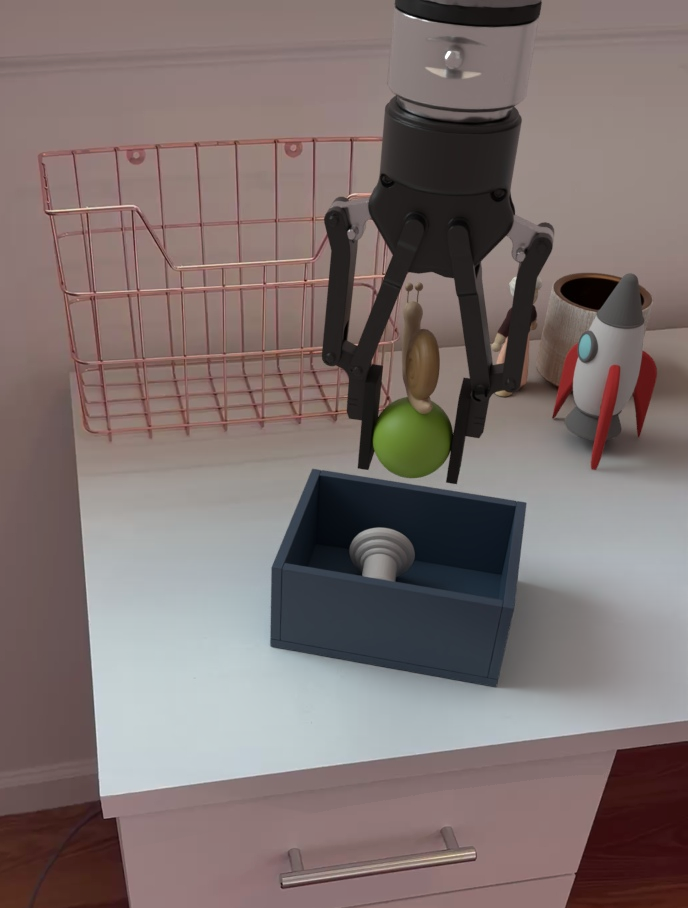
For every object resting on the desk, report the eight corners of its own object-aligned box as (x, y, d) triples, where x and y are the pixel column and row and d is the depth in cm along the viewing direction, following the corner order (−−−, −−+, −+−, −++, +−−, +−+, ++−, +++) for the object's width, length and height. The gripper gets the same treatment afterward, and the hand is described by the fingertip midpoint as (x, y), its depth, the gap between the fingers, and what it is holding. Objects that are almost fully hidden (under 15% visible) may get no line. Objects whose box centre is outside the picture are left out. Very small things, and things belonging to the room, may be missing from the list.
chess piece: (409, 577, 86) (400, 659, 80) (346, 566, 86) (332, 647, 80) (420, 531, 82) (412, 613, 76) (354, 519, 82) (341, 601, 76)
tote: (510, 578, 87) (526, 502, 82) (496, 687, 77) (514, 608, 72) (308, 544, 90) (312, 468, 84) (269, 646, 80) (271, 567, 74)
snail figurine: (430, 441, 74) (453, 279, 66) (457, 490, 70) (485, 323, 62) (357, 446, 73) (372, 282, 65) (380, 496, 69) (398, 327, 61)
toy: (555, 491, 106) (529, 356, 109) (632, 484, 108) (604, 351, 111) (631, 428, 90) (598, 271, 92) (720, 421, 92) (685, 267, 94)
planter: (543, 396, 111) (560, 312, 105) (527, 350, 119) (543, 269, 113) (642, 400, 112) (666, 316, 105) (620, 354, 120) (641, 273, 113)
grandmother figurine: (511, 404, 110) (533, 289, 101) (478, 394, 111) (497, 280, 102) (537, 376, 115) (560, 264, 106) (505, 367, 116) (525, 255, 108)
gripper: (273, 100, 54) (267, 473, 70) (627, 141, 52) (539, 518, 68) (304, 66, 60) (293, 419, 75) (626, 102, 58) (545, 458, 73)
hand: (409, 465), depth 71 cm, fingers closed on snail figurine, 5 cm apart
